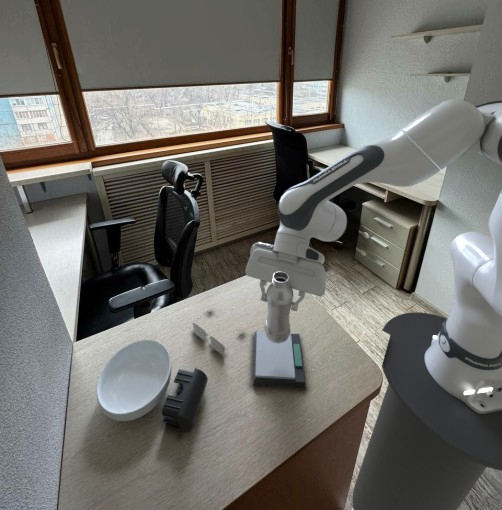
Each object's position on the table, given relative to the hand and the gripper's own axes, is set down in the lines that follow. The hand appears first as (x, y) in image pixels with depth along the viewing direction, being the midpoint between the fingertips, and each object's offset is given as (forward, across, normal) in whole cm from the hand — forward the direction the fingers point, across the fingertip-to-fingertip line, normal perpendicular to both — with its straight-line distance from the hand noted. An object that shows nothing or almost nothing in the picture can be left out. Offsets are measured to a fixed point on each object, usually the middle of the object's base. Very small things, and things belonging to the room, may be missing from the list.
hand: (278, 305), depth 65 cm
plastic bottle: (+8, 0, +9) cm, 12 cm away
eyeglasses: (+14, -19, +16) cm, 29 cm away
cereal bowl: (+28, -30, +2) cm, 41 cm away
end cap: (+27, -17, +3) cm, 32 cm away
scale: (+14, 0, +16) cm, 21 cm away
